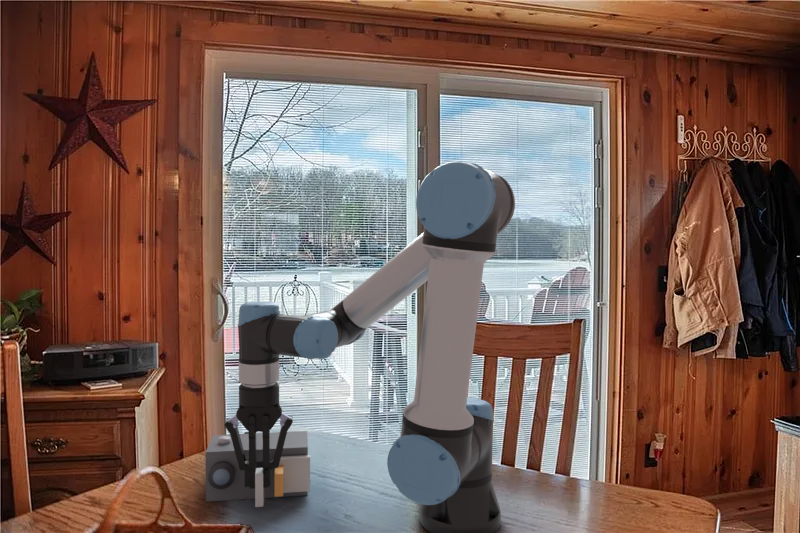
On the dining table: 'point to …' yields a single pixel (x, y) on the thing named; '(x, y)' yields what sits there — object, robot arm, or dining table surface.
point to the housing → (234, 482)
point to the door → (292, 474)
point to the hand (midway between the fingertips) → (259, 503)
